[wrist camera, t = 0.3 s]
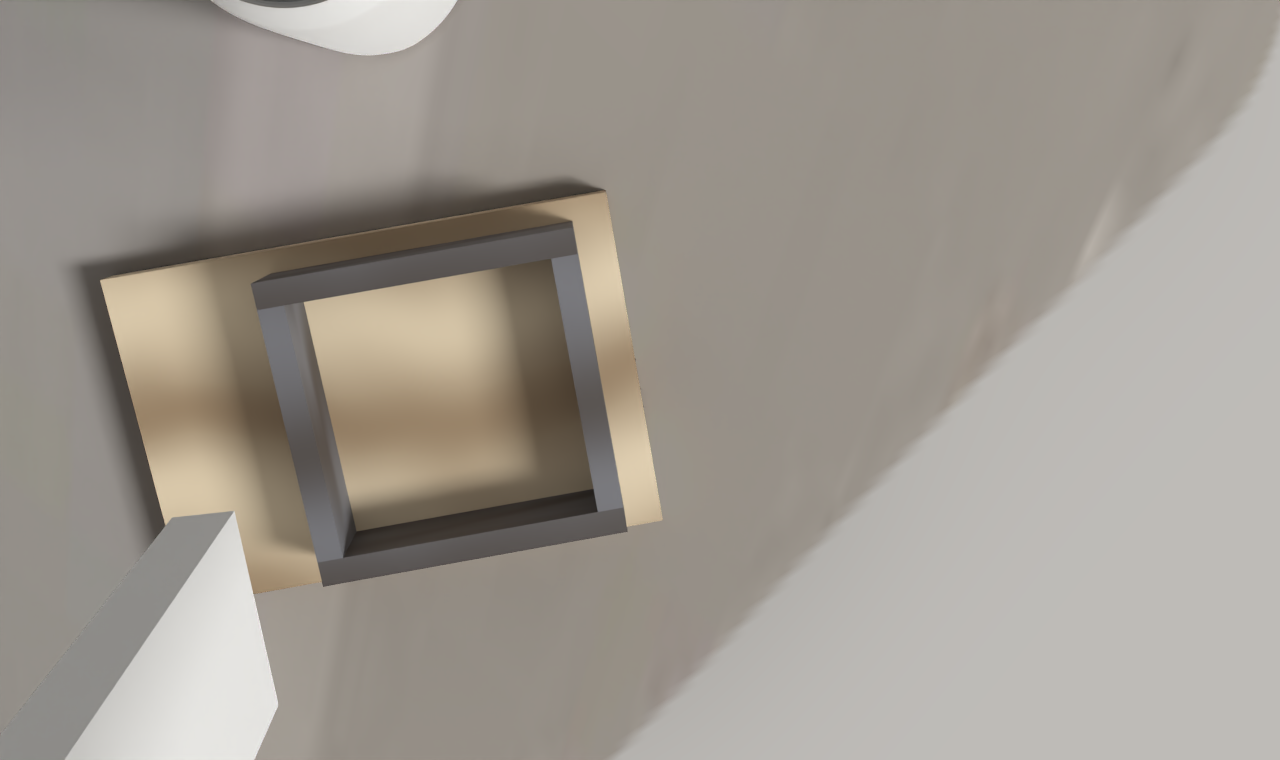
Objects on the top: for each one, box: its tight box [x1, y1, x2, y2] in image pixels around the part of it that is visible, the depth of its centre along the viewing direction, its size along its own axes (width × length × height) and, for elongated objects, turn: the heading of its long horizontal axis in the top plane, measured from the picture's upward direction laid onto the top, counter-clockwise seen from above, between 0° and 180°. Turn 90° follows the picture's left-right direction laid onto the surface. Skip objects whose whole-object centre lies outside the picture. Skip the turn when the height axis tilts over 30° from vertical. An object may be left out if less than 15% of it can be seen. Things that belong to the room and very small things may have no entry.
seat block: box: [100, 190, 663, 594], centre depth 39 cm, size 11×16×4 cm
